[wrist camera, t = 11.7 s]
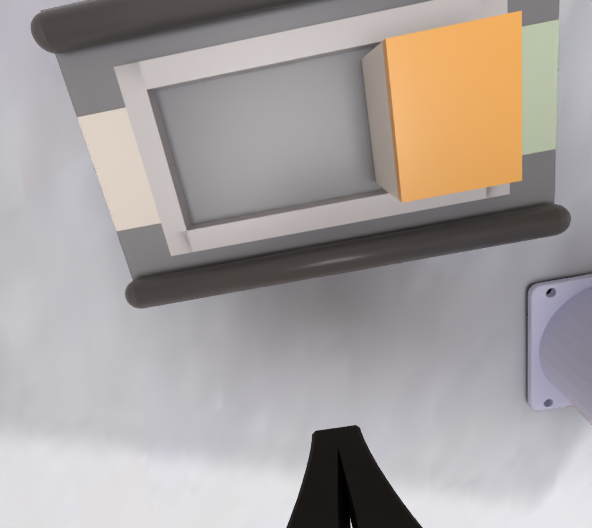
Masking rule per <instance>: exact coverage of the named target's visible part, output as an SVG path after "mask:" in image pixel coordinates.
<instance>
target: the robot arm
mask: <svg viewBox="0 0 592 528" xmlns="http://www.w3.org/2000/svg"><path fill="white" fill-rule="evenodd" d="M550 288H552V290H551V292H550V293H549V294H546V292H547V290H548V289H550ZM548 399H549V400H548ZM546 400H548V401H547V402H545V401H546ZM528 405H529V406H530V407H531V408H532V409H533V410H535V411H542V410H548V409H554V408H561V407H567V406H574V407H575V408H576V409H577V410H578V411H579V412H580V413H581V414H582V415H583V416H584V417H585V418H586V419H587V420H588V421H589V422H590V423H591V424H592V274H588V275H582V276H577V277H571V278H565V279H559V280H553V281H547V282H542V283H537V284H534V285H533V286H531V287H530V289H529V291H528ZM350 519H351V523H352V527H353V528H422V527H421V525H420V524H419V523H418V522H417V520H416V519H415V518H414V517H413V515H412V514H411V513H410V511H409V510H408V509H407V507H406V506H405V505H404V503H403V502H402V501H401V499H400V498H399V497H398V495H397V494H396V492H395V491H394V489H393V488H392V486H391V485H390V484H389V482H388V480H387V479H386V477H385V476H384V474H383V473H382V471H381V469H380V468H379V466H378V465H377V463H376V461H375V459H374V458H373V456H372V454H371V452H370V450H369V448H368V446H367V444H366V442H365V440H364V438H363V435H362V433H361V430H360V428H359V427H358V426H356V425H353V426H347V427H340V428H333V429H326V430H319V431H315V432H314V433H313V434H312V443H311V450H310V455H309V459H308V463H307V468H306V471H305V475H304V478H303V482H302V485H301V488H300V492H299V495H298V498H297V501H296V503H295V506H294V509H293V512H292V514H291V517H290V520H289V522H288V525H287V527H286V528H351V526H350Z"/></svg>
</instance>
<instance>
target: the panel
mask: <svg viewBox="0 0 592 528" xmlns="http://www.w3.org/2000/svg"><path fill="white" fill-rule="evenodd" d="M517 11H522V181H517V182H512V183H507V184H501V185H496V186H490V187H485V188H480V189H474V190H469V191H463V192H458V193H452V194H447V195H442V196H436V197H431V198H425V199H420V200H415V201H409V202H404V203H402V202H400V201H399V200H398V199H396V198H395V197H394V196H393V195H391V194H390V193H389V192H387V191H386V190H385V189H383V188H382V187H381V186H379V185H378V184H377V183H376V178H375V170H374V161H373V153H372V145H371V136H370V128H369V120H368V111H367V103H366V95H365V86H364V78H363V70H362V61H361V59H362V58H363V57H364V56H366V55H367V54H368V53H369V52H370V51H372V50H373V49H374V48H375V47H376V46H377V45H379V44H380V43H381V42H382V41H383V40H384V39H386V38H391V37H395V36H400V35H405V34H410V33H415V32H420V31H425V30H430V29H434V28H439V27H444V26H449V25H454V24H459V23H464V22H468V21H473V20H478V19H483V18H488V17H493V16H498V15H503V14H507V13H512V12H517ZM31 33H32V36H33V38H34V40H35V41H36V43H37V44H38V45H39V46H40V47H41V48H43V49H44V50H46V51H48V52H51V53H55V54H56V57H57V60H58V63H59V66H60V69H61V72H62V75H63V78H64V81H65V83H66V86H67V89H68V92H69V95H70V98H71V101H72V104H73V107H74V110H75V113H76V115H77V118H78V121H79V124H80V127H81V130H82V133H83V136H84V139H85V142H86V145H87V147H88V150H89V153H90V156H91V159H92V162H93V165H94V168H95V171H96V174H97V177H98V179H99V182H100V185H101V188H102V191H103V194H104V197H105V200H106V203H107V206H108V209H109V212H110V214H111V217H112V220H113V223H114V226H115V229H116V232H117V235H118V238H119V241H120V244H121V246H122V249H123V252H124V255H125V258H126V261H127V264H128V267H129V270H130V273H131V276H132V278H133V281H132V282H131V283H130V284H129V285H128V286H127V288H126V291H125V297H126V300H127V302H128V303H129V304H130V305H131V306H133V307H135V308H148V307H153V306H159V305H165V304H170V303H176V302H182V301H187V300H193V299H199V298H204V297H210V296H215V295H221V294H227V293H232V292H238V291H244V290H249V289H255V288H261V287H266V286H272V285H278V284H283V283H289V282H294V281H300V280H306V279H311V278H317V277H323V276H328V275H334V274H340V273H345V272H351V271H357V270H362V269H368V268H373V267H379V266H385V265H390V264H396V263H402V262H407V261H413V260H419V259H424V258H430V257H436V256H441V255H447V254H452V253H458V252H464V251H469V250H475V249H481V248H486V247H492V246H498V245H503V244H509V243H515V242H520V241H526V240H531V239H537V238H543V237H548V236H554V235H558V234H561V233H563V232H564V231H565V230H566V229H567V228H568V227H569V225H570V222H571V216H570V213H569V211H568V210H567V209H566V208H565V207H563V206H561V205H557V204H554V192H555V151H556V130H557V90H558V50H559V0H87V1H82V2H78V3H73V4H69V5H64V6H59V7H55V8H50V9H46V10H41V13H38V14H37V15H36V16H35V17H34V18H33V20H32V22H31Z"/></svg>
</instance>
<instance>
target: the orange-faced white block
mask: <svg viewBox="0 0 592 528" xmlns="http://www.w3.org/2000/svg"><path fill="white" fill-rule="evenodd" d="M361 61H362V70H363V78H364V86H365V95H366V103H367V111H368V120H369V128H370V136H371V145H372V153H373V161H374V170H375V178H376V183H377V184H378V185H379V186H381V187H382V188H383V189H385V190H386V191H387V192H389V193H390V194H391V195H393V196H394V197H395V198H396V199H398V200H399V201H400V202H402V203H404V202H409V201H415V200H420V199H425V198H431V197H436V196H442V195H447V194H452V193H458V192H463V191H469V190H474V189H480V188H485V187H490V186H496V185H501V184H507V183H512V182H517V181H522V11H517V12H512V13H507V14H503V15H498V16H493V17H488V18H483V19H478V20H473V21H468V22H464V23H459V24H454V25H449V26H444V27H439V28H434V29H430V30H425V31H420V32H415V33H410V34H405V35H400V36H395V37H391V38H386V39H384V40H383V41H382V42H381V43H380V44H379V45H377V46H376V47H375V48H374V49H373V50H372V51H370V52H369V53H368V54H367V55H366V56H364V57H363V58H362V59H361Z"/></svg>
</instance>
